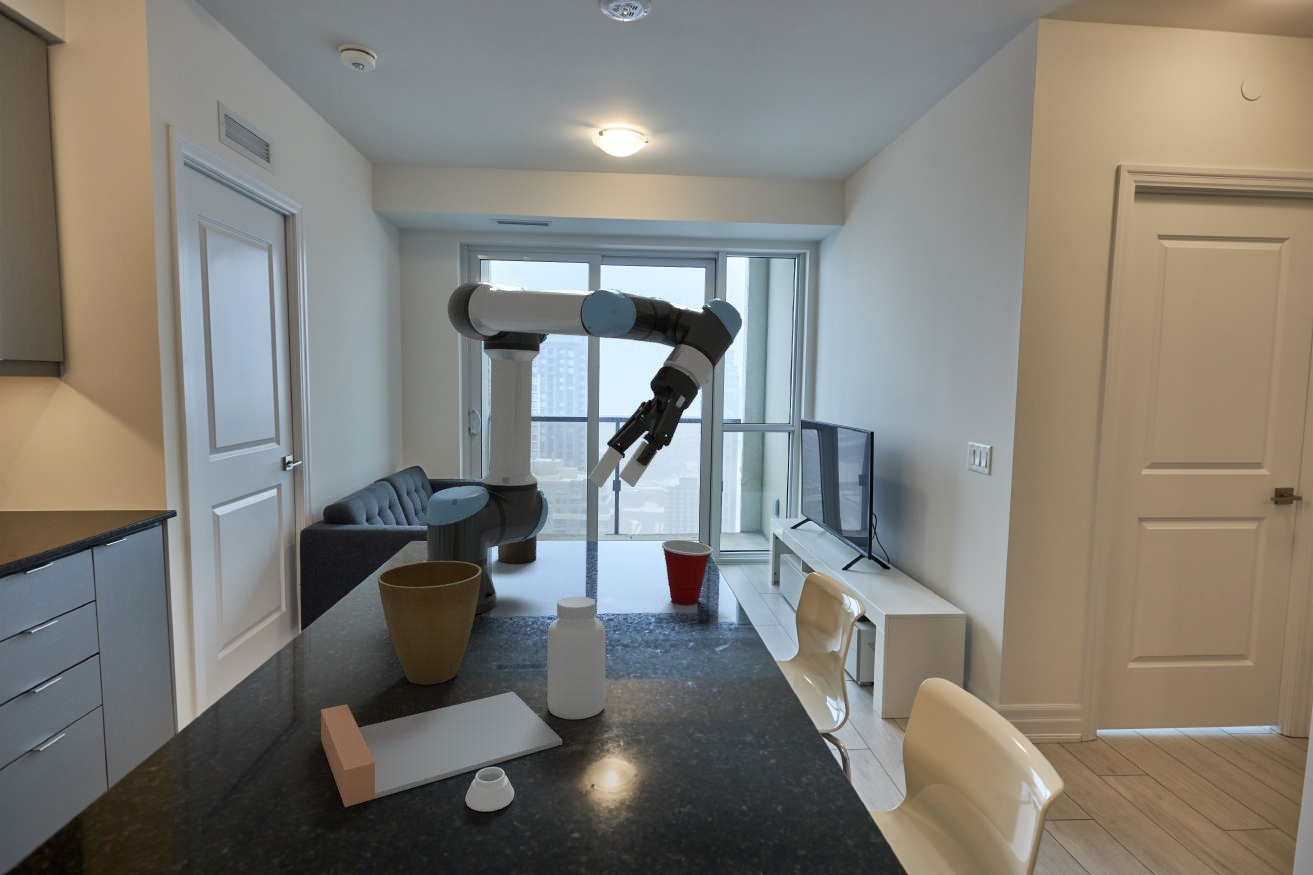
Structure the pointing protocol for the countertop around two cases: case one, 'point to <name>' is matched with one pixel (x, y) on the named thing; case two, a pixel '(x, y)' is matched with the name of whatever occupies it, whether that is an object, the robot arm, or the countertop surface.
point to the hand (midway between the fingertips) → (609, 482)
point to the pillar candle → (518, 551)
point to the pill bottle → (576, 660)
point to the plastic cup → (685, 569)
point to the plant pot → (430, 616)
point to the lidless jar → (489, 790)
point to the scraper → (428, 744)
